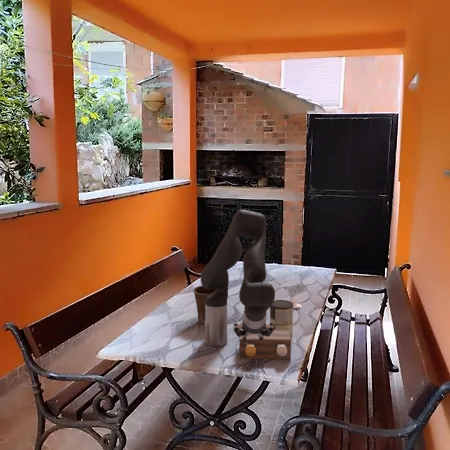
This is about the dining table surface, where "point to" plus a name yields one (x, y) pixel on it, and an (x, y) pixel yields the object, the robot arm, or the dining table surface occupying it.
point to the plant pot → (201, 301)
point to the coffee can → (282, 315)
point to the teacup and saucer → (295, 304)
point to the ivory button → (281, 348)
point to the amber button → (250, 349)
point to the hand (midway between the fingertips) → (252, 338)
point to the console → (266, 345)
